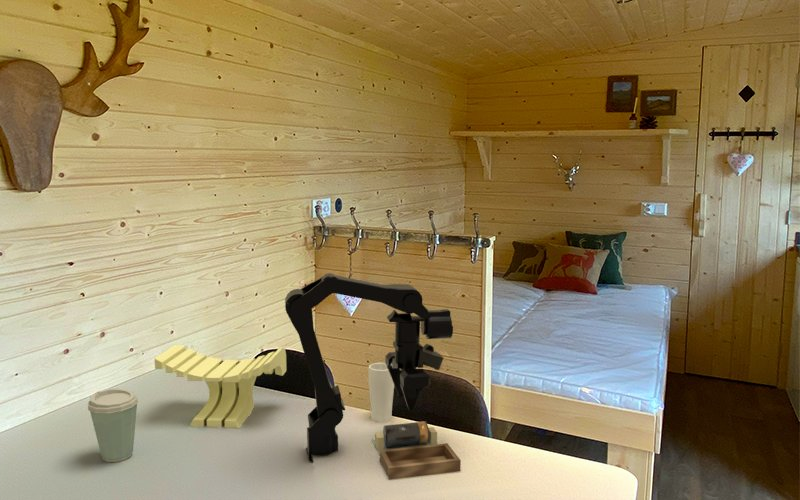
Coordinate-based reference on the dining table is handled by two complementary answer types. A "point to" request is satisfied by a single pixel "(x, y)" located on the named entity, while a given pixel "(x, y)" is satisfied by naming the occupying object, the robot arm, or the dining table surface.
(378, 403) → the drinking glass
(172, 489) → the dining table surface
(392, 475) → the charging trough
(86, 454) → the dining table surface
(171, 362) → the slatted curved stool
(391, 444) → the battery cell
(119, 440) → the disposable coffee cup
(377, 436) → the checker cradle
